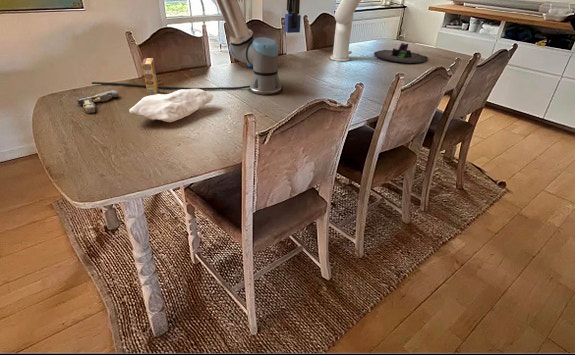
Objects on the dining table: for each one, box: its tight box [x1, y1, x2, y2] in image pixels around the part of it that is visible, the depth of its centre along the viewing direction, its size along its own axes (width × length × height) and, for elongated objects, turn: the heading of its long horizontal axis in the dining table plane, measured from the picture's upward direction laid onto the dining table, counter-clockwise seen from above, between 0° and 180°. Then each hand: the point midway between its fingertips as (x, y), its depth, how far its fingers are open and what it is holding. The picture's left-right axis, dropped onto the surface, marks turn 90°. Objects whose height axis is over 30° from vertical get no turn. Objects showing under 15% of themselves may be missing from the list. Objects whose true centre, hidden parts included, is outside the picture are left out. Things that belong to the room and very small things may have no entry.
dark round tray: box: [373, 42, 428, 64], centre depth 240 cm, size 35×35×9 cm
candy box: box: [141, 57, 160, 96], centre depth 163 cm, size 9×4×15 cm, turn 13°
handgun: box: [76, 89, 120, 114], centre depth 155 cm, size 3×18×15 cm
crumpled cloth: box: [129, 89, 214, 123], centre depth 147 cm, size 24×35×9 cm
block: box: [284, 13, 302, 34], centre depth 191 cm, size 5×7×8 cm
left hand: (292, 27), depth 192 cm, fingers closed on block, 5 cm apart
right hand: (288, 0), depth 223 cm, fingers open, 9 cm apart
